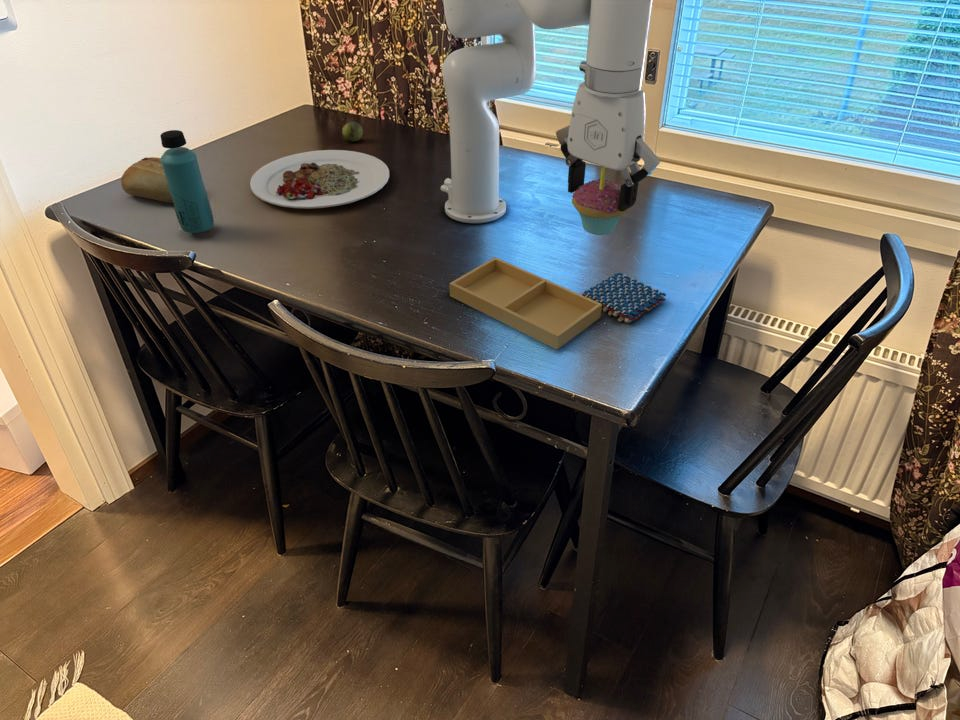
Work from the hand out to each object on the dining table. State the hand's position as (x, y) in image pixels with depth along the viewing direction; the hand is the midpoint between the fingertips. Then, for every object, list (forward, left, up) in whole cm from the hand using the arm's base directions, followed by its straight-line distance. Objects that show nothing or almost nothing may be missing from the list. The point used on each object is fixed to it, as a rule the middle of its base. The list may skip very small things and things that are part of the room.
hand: (600, 198), depth 106 cm
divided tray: (-9, -6, -20) cm, 23 cm away
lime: (-87, +23, -20) cm, 92 cm away
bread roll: (-94, -25, -20) cm, 99 cm away
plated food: (-73, +2, -20) cm, 76 cm away
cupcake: (0, 0, -5) cm, 5 cm away
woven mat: (+3, +6, -20) cm, 21 cm away
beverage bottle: (-73, -28, -20) cm, 81 cm away
